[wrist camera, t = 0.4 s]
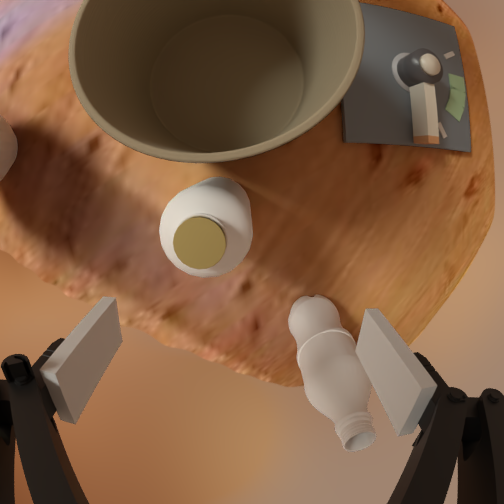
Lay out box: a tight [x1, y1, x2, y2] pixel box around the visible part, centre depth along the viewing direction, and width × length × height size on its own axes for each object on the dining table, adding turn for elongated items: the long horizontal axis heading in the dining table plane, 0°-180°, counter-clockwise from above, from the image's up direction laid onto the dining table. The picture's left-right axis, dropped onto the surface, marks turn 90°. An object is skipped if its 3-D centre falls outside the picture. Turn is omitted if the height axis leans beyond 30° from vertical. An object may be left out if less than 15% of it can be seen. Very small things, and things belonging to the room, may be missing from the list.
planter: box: [69, 0, 365, 163], centre depth 26 cm, size 22×22×20 cm
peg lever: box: [397, 48, 443, 144], centre depth 32 cm, size 13×5×6 cm, turn 3°
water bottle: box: [288, 294, 376, 452], centre depth 33 cm, size 7×7×25 cm
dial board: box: [341, 2, 471, 152], centre depth 34 cm, size 22×22×1 cm
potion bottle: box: [159, 177, 253, 278], centre depth 32 cm, size 8×8×18 cm
